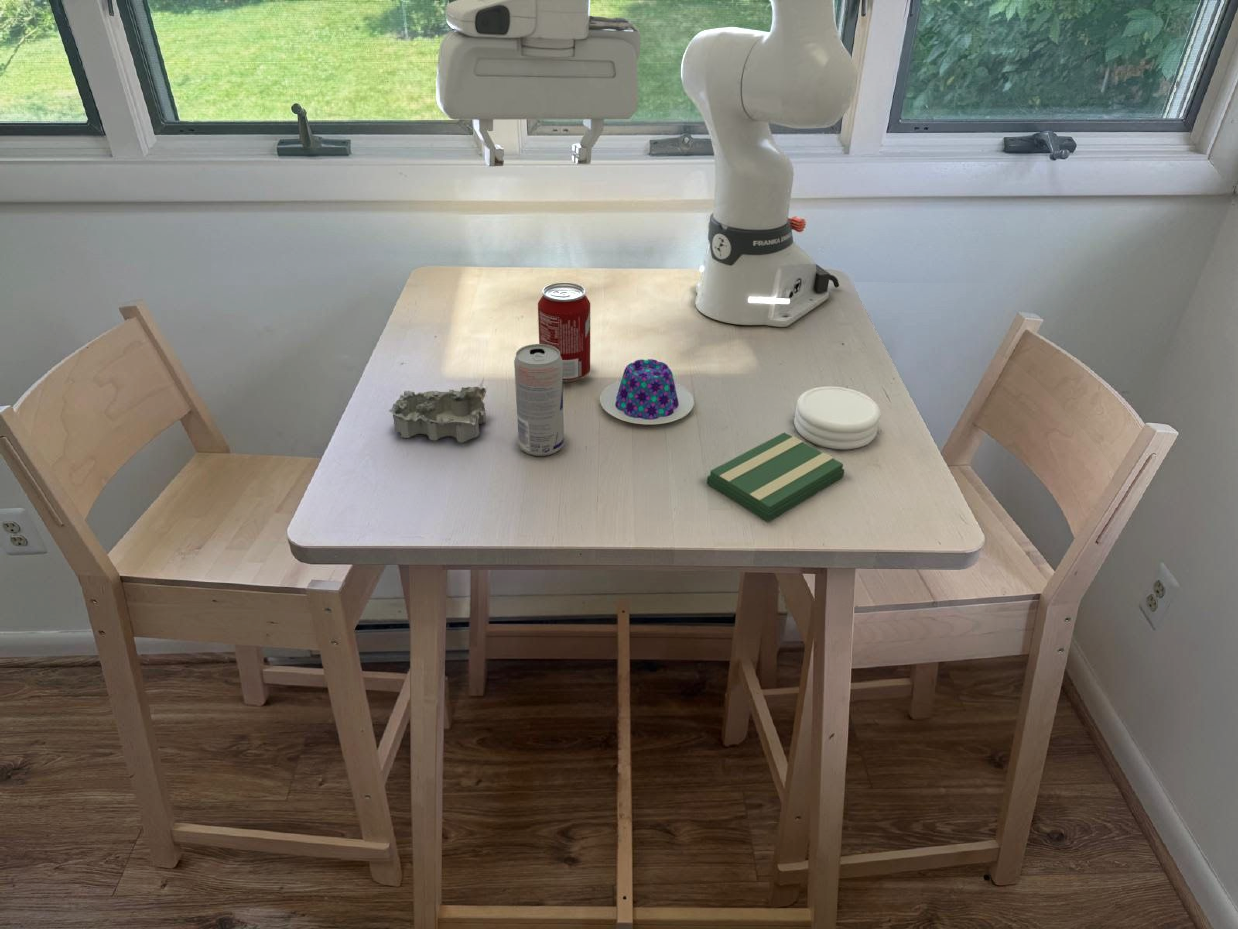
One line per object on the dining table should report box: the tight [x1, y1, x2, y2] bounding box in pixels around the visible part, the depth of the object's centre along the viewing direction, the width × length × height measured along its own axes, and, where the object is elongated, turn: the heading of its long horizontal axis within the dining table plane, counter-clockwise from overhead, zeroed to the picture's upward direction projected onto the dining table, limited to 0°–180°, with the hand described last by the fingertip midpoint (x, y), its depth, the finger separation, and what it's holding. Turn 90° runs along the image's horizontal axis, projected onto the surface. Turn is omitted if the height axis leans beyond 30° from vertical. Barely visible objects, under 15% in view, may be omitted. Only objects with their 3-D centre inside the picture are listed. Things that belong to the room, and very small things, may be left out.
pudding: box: [599, 358, 695, 425], centre depth 110 cm, size 12×12×5 cm
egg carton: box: [388, 386, 487, 443], centre depth 105 cm, size 11×8×4 cm
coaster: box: [793, 385, 881, 450], centre depth 106 cm, size 10×10×4 cm
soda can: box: [537, 281, 591, 384], centre depth 114 cm, size 7×7×12 cm
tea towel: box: [706, 432, 845, 522], centre depth 97 cm, size 13×9×2 cm
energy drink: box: [513, 343, 565, 457], centre depth 100 cm, size 5×5×12 cm
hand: (538, 164), depth 89 cm, fingers open, 8 cm apart
